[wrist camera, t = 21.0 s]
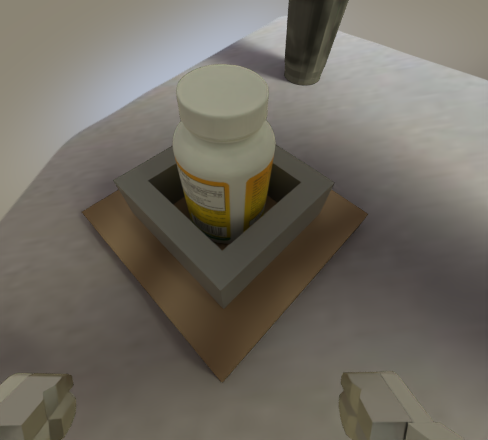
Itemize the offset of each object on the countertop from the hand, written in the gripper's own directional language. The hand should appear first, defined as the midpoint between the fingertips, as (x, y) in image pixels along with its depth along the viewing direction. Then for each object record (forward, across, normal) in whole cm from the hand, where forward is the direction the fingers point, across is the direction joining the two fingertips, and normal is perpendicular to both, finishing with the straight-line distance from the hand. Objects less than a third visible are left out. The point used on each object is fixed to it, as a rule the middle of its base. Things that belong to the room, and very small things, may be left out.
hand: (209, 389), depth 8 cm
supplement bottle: (+12, 0, -3) cm, 13 cm away
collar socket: (+13, 0, -2) cm, 13 cm away
